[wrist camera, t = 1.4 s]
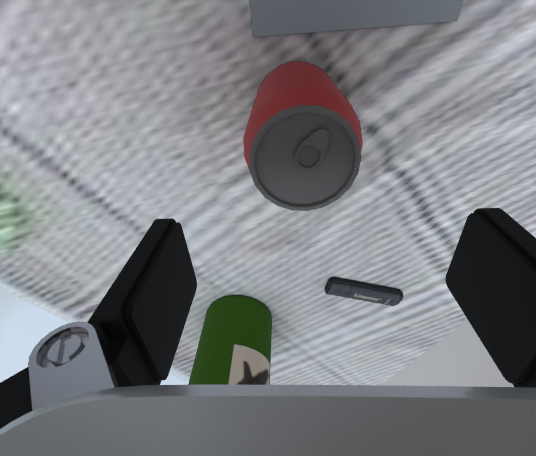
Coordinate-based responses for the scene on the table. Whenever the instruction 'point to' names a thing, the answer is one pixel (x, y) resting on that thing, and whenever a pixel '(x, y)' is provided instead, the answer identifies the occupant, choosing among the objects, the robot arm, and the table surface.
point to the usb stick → (363, 291)
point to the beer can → (302, 138)
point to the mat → (346, 14)
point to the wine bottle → (234, 344)
